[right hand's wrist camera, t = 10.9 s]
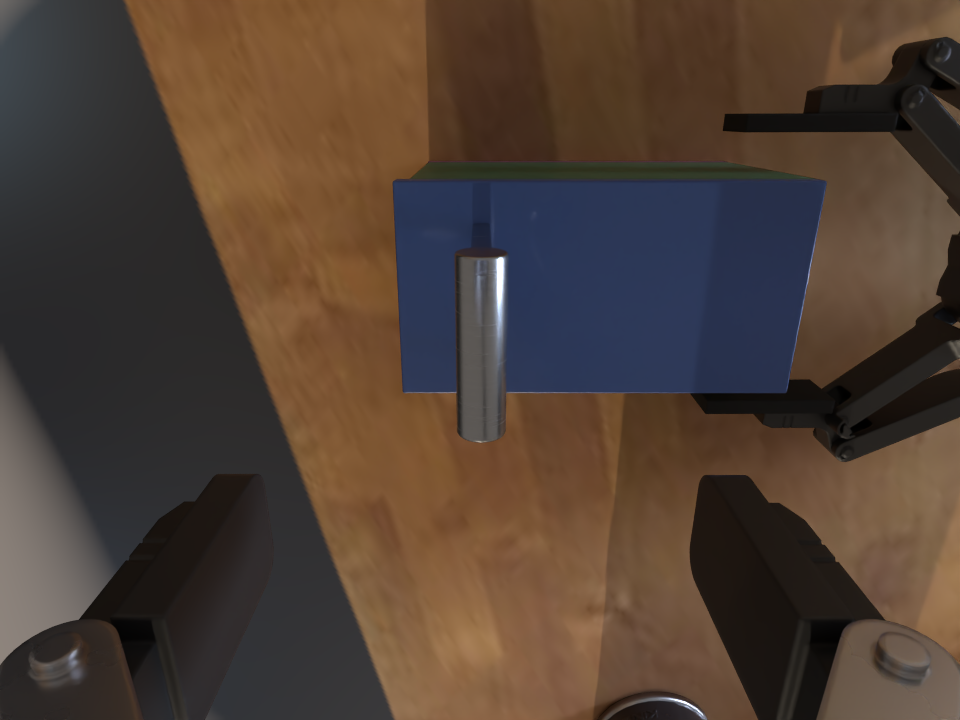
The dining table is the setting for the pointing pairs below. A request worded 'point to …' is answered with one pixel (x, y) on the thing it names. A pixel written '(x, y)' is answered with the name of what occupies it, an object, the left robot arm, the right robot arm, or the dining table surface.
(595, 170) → the chest
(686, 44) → the dining table surface
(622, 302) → the lid
